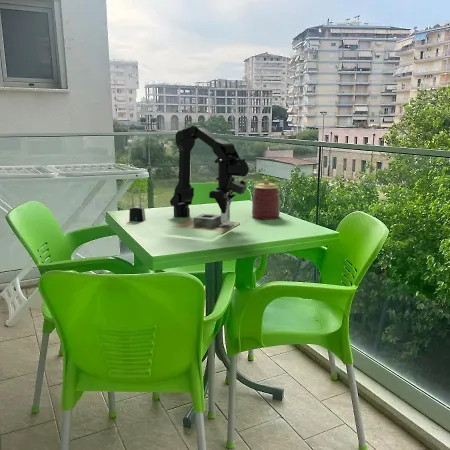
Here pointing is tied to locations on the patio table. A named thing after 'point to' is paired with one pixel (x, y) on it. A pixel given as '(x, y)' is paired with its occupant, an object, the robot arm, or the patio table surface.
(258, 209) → the canister
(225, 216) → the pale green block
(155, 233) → the patio table surface
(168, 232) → the patio table surface
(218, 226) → the chuck stand
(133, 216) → the padlock
